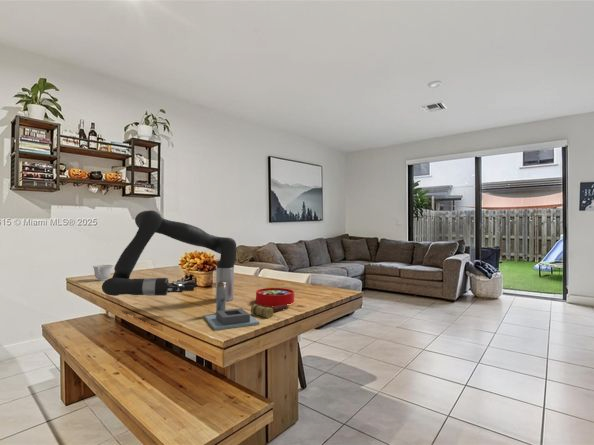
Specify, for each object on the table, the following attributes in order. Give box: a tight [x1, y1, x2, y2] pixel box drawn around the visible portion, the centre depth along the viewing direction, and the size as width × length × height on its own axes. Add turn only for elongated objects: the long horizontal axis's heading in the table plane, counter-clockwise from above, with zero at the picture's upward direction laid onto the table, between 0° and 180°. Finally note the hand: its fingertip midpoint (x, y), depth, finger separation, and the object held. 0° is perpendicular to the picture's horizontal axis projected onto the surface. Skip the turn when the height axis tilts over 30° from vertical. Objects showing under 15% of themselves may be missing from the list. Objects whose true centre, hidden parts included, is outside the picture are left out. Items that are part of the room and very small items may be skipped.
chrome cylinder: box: [215, 282, 227, 312], centre depth 145 cm, size 4×4×14 cm
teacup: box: [92, 264, 113, 282], centre depth 223 cm, size 12×15×10 cm
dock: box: [204, 307, 260, 331], centre depth 134 cm, size 18×18×4 cm
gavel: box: [250, 303, 290, 319], centre depth 150 cm, size 21×5×10 cm
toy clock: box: [255, 287, 295, 307], centre depth 170 cm, size 20×6×20 cm
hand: (194, 286), depth 142 cm, fingers open, 8 cm apart
